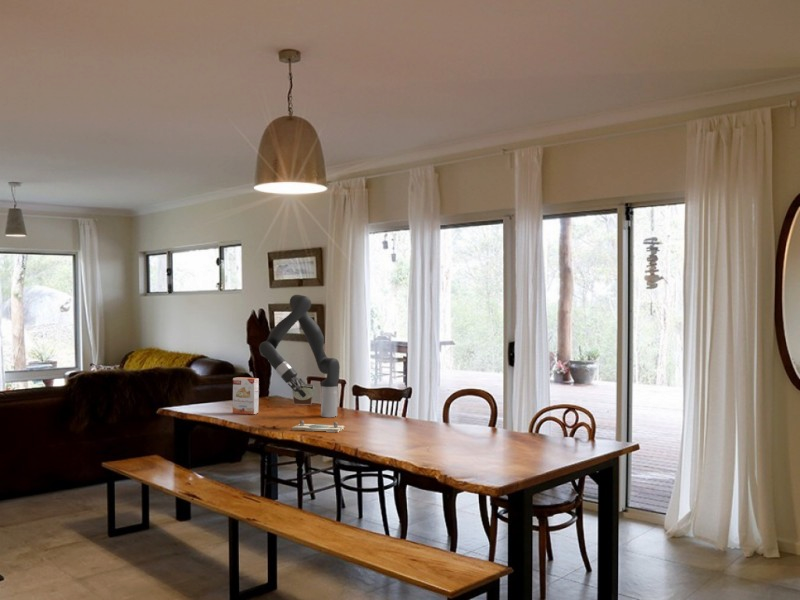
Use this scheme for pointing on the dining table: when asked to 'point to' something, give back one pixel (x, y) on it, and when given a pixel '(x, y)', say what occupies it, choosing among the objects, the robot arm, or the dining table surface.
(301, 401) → the food container
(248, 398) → the cracker box
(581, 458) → the dining table surface
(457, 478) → the dining table surface
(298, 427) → the board
